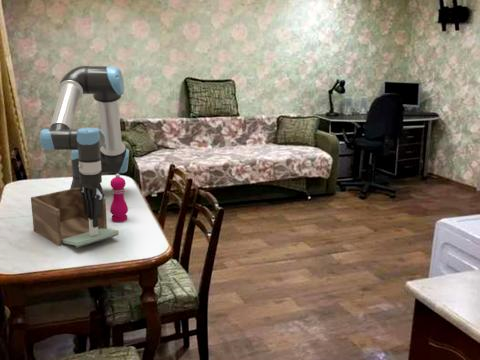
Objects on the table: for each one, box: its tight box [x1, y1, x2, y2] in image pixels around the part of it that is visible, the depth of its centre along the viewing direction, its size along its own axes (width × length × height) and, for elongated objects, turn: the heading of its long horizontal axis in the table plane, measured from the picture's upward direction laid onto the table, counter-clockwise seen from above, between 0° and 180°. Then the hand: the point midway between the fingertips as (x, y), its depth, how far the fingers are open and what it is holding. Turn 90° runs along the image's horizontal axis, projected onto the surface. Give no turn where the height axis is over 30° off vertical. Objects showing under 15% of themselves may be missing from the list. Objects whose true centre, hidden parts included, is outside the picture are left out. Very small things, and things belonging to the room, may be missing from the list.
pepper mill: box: [109, 173, 129, 223], centre depth 202 cm, size 7×7×20 cm
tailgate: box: [62, 228, 120, 248], centre depth 181 cm, size 17×2×12 cm
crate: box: [30, 187, 108, 247], centre depth 189 cm, size 20×20×14 cm
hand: (93, 234), depth 178 cm, fingers closed
